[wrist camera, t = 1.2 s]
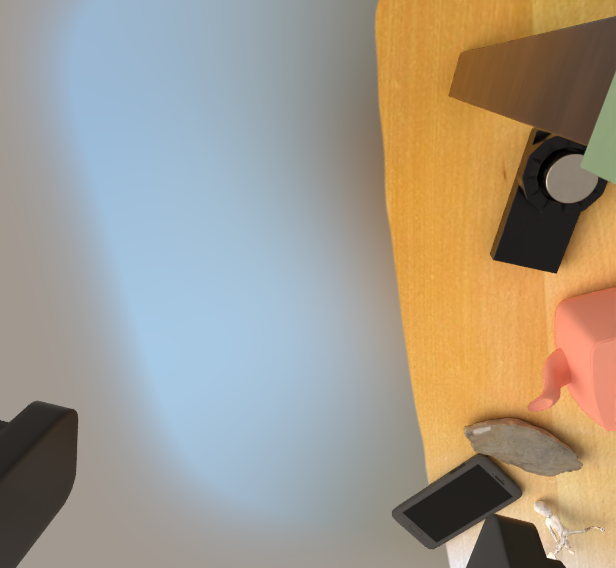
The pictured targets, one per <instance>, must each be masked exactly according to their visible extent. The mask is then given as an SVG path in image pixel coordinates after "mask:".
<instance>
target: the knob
mask: <svg viewBox="0 0 616 568" xmlns="http://www.w3.org/2000/svg"><path fill="white" fill-rule="evenodd" d="M583 157H584V155H582V154H580V153H577V152H574V151H563V152H559V153H557V154H555V155H553V156H551V157H550V158H549V159H548V160H547V161H546V162H545V164H544V165H543V167H542V169H541V172H540V183H541V186H542V188H543V190H544V191H545V192H546V193H547V194H548V195H550V196H551V197H552V198H554V199H555V200H557V201H559V202H562V203H575V202H578V201H581V200H583V199H584V198H586V197H587V196H588V195H589V194H590V193H591V192H592V191H593V190H594V188H595V186H596V184H597V181H598V176H597V175H595V174H592V173H590V172H588V171H586V170H584V169H582V168H581V167H580V165H581V162H582V159H583Z"/></svg>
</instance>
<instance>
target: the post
mask: <svg viewBox="0 0 616 568" xmlns="http://www.w3.org/2000/svg"><path fill="white" fill-rule="evenodd" d="M615 72H616V16H614V17H610V18H606V19H601V20H597V21H593V22H589V23H584V24H580V25H576V26H572V27H568V28H563V29H559V30H555V31H551V32H547V33H542V34H538V35H534V36H530V37H525V38H521V39H517V40H513V41H509V42H504V43H500V44H496V45H492V46H488V47H483V48H479V49H475V50H471V51H466V52H462V53H460V56H459V59H458V63H457V67H456V71H455V74H454V78H453V82H452V85H451V89H450V93H449V97H452V98H455V99H458V100H461V101H463V102H466V103H469V104H472V105H474V106H477V107H480V108H483V109H486V110H488V111H491V112H494V113H497V114H499V115H502V116H505V117H508V118H511V119H513V120H516V121H519V122H522V123H524V124H527V125H530V126H533V127H536V128H538V129H541V130H544V131H547V132H549V133H552V134H555V135H558V136H561V137H563V138H566V139H569V140H572V141H574V142H577V143H580V144H583V145H585V146H588V144H589V141H590V138H591V136H592V133H593V130H594V128H595V125H596V122H597V120H598V117H599V115H600V112H601V109H602V107H603V104H604V101H605V99H606V96H607V93H608V91H609V88H610V85H611V83H612V80H613V78H614V75H615Z"/></svg>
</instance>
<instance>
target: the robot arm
mask: <svg viewBox="0 0 616 568" xmlns="http://www.w3.org/2000/svg"><path fill="white" fill-rule="evenodd" d="M77 435H78V414H77V412H76V411H75V410H74V409H70V408H65V407H62V406H58V405H54V404H49V403H45V402H41V401H34V402H33V403H31V404H30V405H28V406H27V407H26V408H25V409H24V410H23V411H22V412H21V413H19V414H18V415H17V416H16V417H15V418H14V419H13V420H12V421H10V422H5V421H1V420H0V568H16V567H17V565H18V564H19V563H20V561H21V560H22V559H23V558H24V556H25V555H26V554H27V552H28V551H29V550H30V548H31V547H32V546H33V544H34V543H35V542H36V540H37V539H38V538H39V537H40V535H41V534H42V533H43V531H44V530H45V529H46V527H47V526H48V525H49V524H50V522H51V521H52V520H53V518H54V517H55V516H56V514H57V513H58V512H59V510H60V509H61V508H62V506H63V505H64V504H65V502H66V500H67V498H68V496H69V494H70V492H71V490H72V487H73V484H74V480H75V476H76V460H77ZM466 568H566V567H565V566H564V565H563V563H562V562H561V561H559V560H555V559H551V558H547V557H546V554H545V551H544V548H543V545H542V542H541V540H540V537H539V534H538V531H537V529H536V527H535V525H534V524H532V523H530V522H526V521H521V520H517V519H513V518H509V517H505V516H501V515H497V514H493V513H491V514H489V515H488V516H487V518H486V520H485V522H484V524H483V527H482V529H481V532H480V534H479V537H478V539H477V542H476V544H475V547H474V549H473V552H472V554H471V557H470V559H469V562H468V564H467V567H466Z"/></svg>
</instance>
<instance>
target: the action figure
mask: <svg viewBox="0 0 616 568" xmlns="http://www.w3.org/2000/svg"><path fill="white" fill-rule="evenodd" d="M534 509H535V511H536V512H538V513H540V514H541V515H545V516H547V517H546V519H545V523H546V525H547V527H548V528H549V530H550V532H551V534H552V536H553V538H554V539H555V541H556V543H557V545H556V547H555V548H556V552H559V551H560V550H561V548H562V547H563V546H564V544H566V545H565V546H564V547H565V548H567V549H568V550H569V551H570V553H571V554H572V555H573V554H574V553H575V552H574V551H573V550H571V549H570V548H571V547H570V545H569V542H568V540H567V538H568V537H566V535H571V534H576V533H582V532H587V531H588V530H589V529H591V528H597V529H599V530H601V531H602V532H604V531H605V530H604V528H603V527H596V526H592V527H586V528H585V530H580V529H567V528H566V527H564V526H563V525H562V524H561V522H560V520H559V518H558V516H557V515H552V514H553V513H552V510H551V509H550V508H549V507H548V506H547V504H546V503H545V502H543V501H537V502H535V503H534ZM551 526H552V527H553V528H554V529H555V530H556V531H557V532H558V534H559V535H560V537H561V539H560V540H559V542H560V544H559V543H558V541H557V539H556V536H555V533H554V532H553V530H552V528H551ZM562 545H563V546H562ZM556 552H555V553H554V554H553V553H552V552H550V553H549V554H548V556H547V558H551V559H555V560H556V559H557V558H556V557H555V556H554V555H555V554H556Z"/></svg>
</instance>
